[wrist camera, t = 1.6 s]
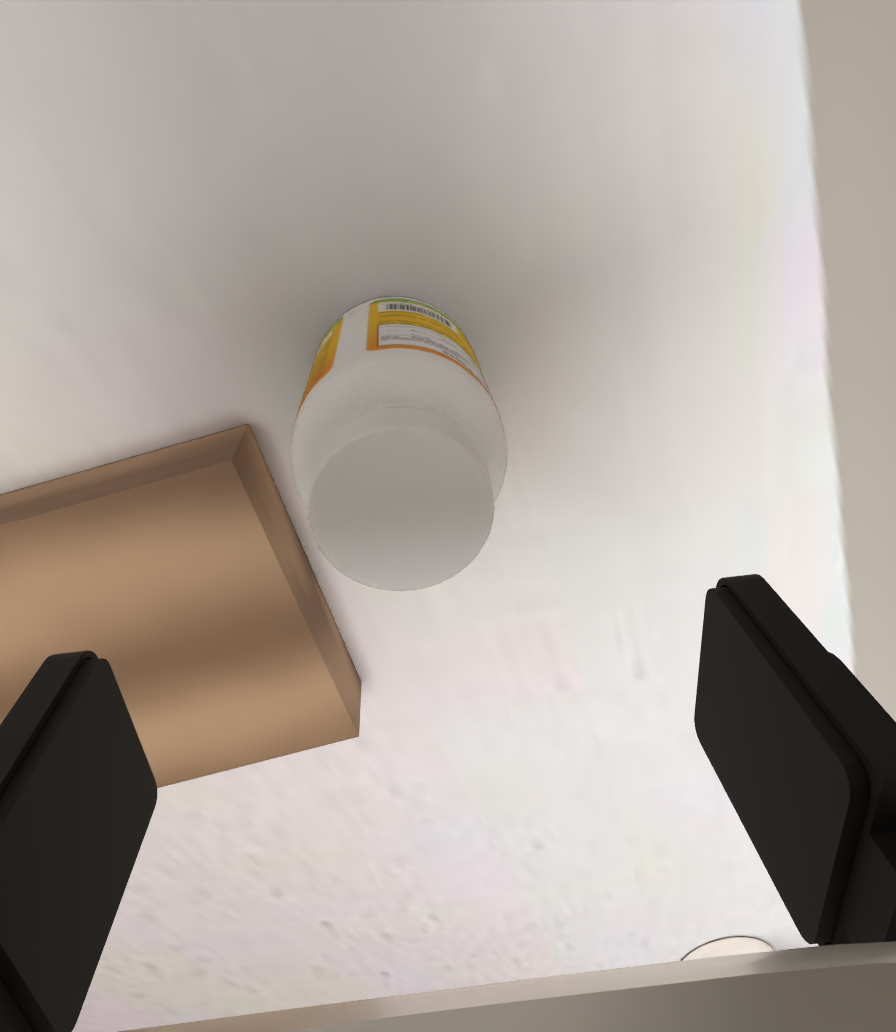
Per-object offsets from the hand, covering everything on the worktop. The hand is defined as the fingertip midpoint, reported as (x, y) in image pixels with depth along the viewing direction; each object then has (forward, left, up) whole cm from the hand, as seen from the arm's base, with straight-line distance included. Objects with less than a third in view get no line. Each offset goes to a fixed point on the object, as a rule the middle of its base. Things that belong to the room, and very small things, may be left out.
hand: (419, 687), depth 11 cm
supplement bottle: (-1, 0, -15) cm, 15 cm away
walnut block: (+7, -10, -14) cm, 19 cm away
